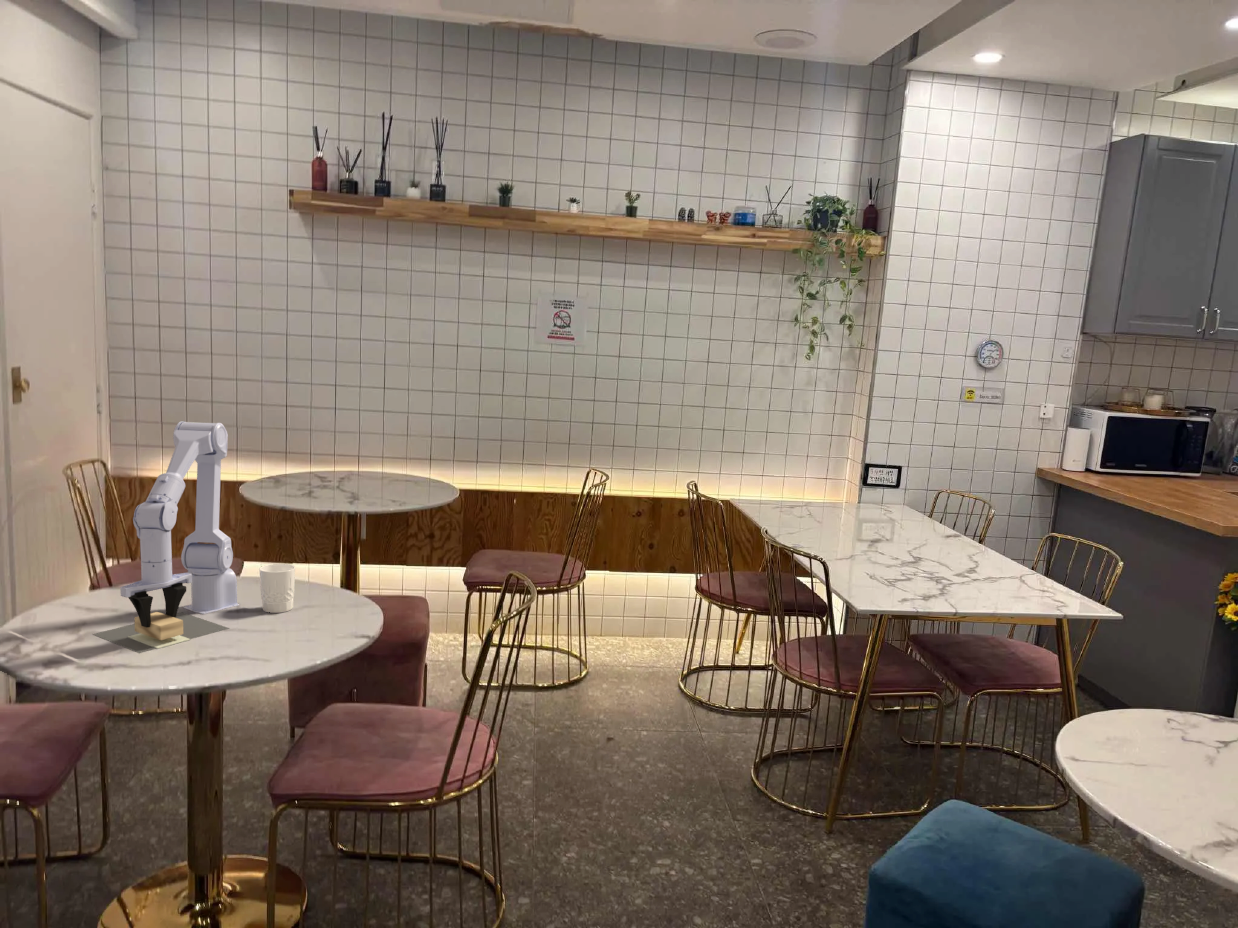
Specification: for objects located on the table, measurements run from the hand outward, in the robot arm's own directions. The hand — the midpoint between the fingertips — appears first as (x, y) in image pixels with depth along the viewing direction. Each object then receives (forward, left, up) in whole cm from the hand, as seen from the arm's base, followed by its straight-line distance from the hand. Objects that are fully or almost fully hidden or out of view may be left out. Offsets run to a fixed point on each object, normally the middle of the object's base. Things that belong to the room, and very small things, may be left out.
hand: (158, 622), depth 190 cm
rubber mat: (-3, -4, -4) cm, 6 cm away
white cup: (-29, 0, -4) cm, 29 cm away
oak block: (0, 0, -2) cm, 2 cm away
